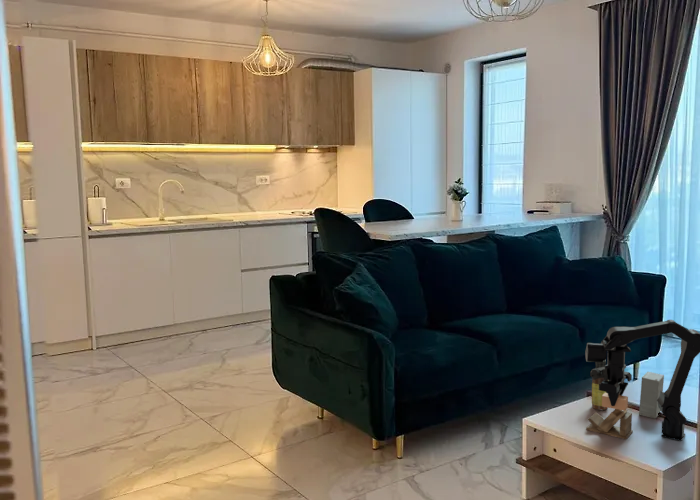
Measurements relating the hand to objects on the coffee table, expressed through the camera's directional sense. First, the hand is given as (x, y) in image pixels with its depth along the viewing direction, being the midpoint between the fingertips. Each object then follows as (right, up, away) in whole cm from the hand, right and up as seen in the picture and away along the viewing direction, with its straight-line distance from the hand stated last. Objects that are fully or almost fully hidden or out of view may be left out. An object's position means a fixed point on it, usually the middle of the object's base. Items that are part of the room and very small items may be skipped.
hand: (614, 404), depth 232 cm
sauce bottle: (+4, -8, +25) cm, 27 cm away
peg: (0, -1, 0) cm, 1 cm away
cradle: (-1, -10, +2) cm, 11 cm away
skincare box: (+21, -8, +17) cm, 29 cm away
